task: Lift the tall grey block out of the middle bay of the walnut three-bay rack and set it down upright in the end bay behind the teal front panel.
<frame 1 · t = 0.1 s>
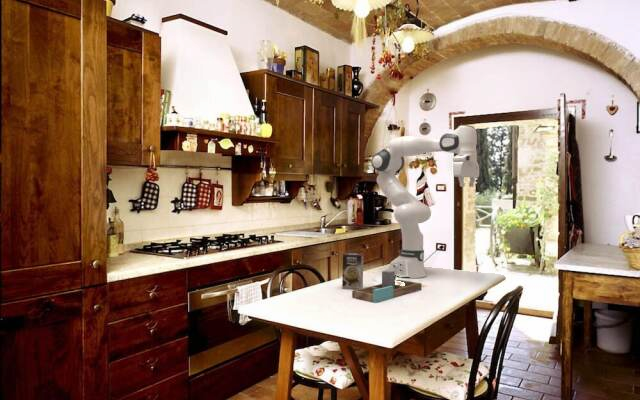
hand: (466, 186, 224), 48 cm above the table, tool pointing down, fingers open, 8 cm apart
tall grey block: (388, 293, 204), resting in rack
rack: (388, 293, 204), on the table
coffee box: (352, 288, 216), on the table
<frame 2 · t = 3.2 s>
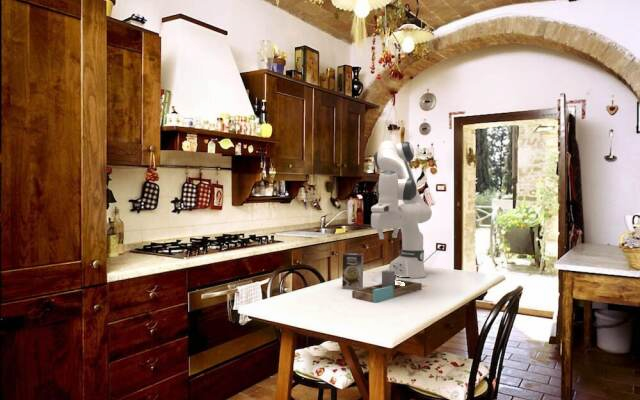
hand: (388, 238, 204), 25 cm above the table, tool pointing down, fingers open, 8 cm apart
nothing on the table moved.
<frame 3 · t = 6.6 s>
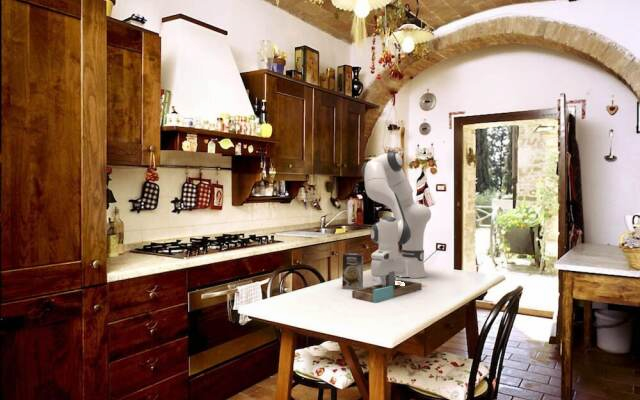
hand: (388, 284, 204), 4 cm above the table, tool pointing down, fingers closed on tall grey block, 4 cm apart
tall grey block: (388, 293, 204), resting in rack, touching gripper
everything else where it was.
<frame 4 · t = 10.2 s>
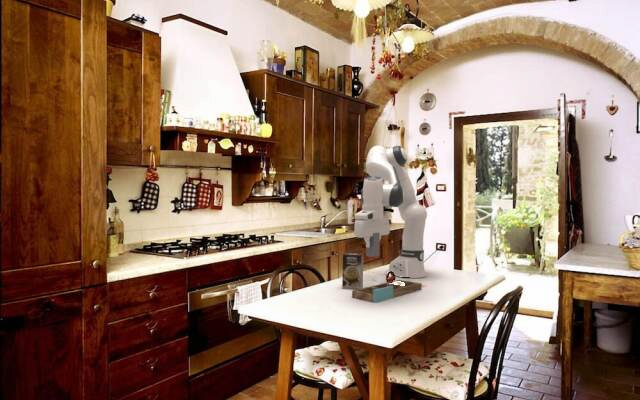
hand: (372, 246, 196), 22 cm above the table, tool pointing down, fingers closed on tall grey block, 4 cm apart
tall grey block: (372, 256, 196), point 18 cm above the table, touching gripper
everything else where it was.
when the fingers open (6 cm above the table, at t = 13.8 s): tall grey block drops 2 cm, resting in rack.
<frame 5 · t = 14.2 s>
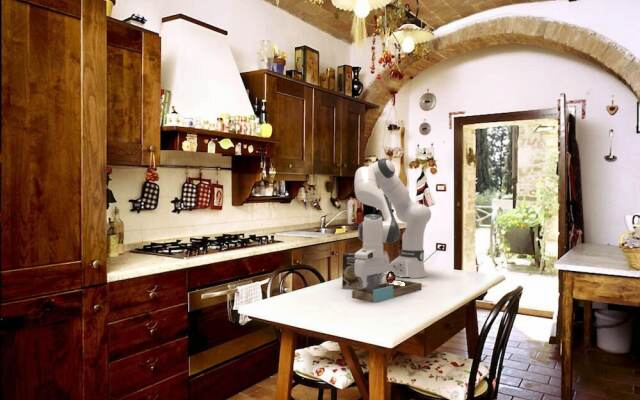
hand: (372, 284, 196), 6 cm above the table, tool pointing down, fingers open, 8 cm apart
tall grey block: (372, 297, 196), resting in rack
everything else where it was.
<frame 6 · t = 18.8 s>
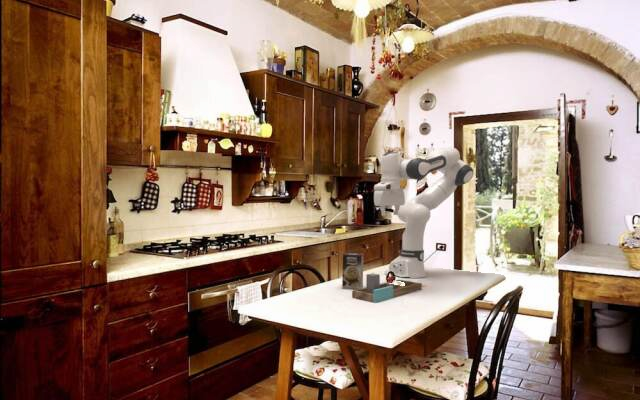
hand: (389, 215, 217), 34 cm above the table, tool pointing down, fingers open, 8 cm apart
nothing on the table moved.
at the end: tall grey block inside the target area on the rack (0.2 cm from its centre), point 0.0 cm above the rack's base; tall grey block tilted 0°; the gripper is holding nothing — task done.
